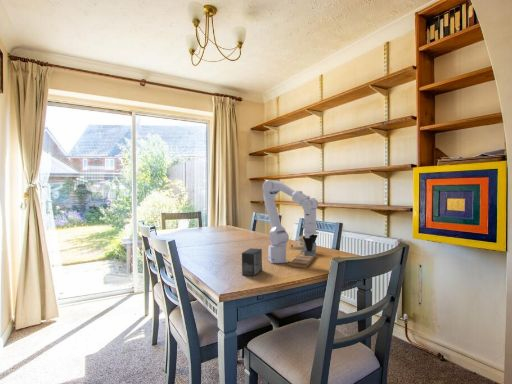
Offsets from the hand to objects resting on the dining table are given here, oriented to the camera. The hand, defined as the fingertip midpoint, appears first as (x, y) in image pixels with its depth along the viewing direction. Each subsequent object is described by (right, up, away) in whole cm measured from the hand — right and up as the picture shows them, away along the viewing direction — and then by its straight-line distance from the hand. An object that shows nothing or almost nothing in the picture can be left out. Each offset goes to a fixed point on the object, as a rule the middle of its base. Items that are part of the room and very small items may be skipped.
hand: (310, 250), depth 142 cm
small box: (-29, -9, -7) cm, 31 cm away
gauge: (-3, -3, +1) cm, 5 cm away
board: (-1, -8, +12) cm, 15 cm away
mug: (+4, -8, +33) cm, 34 cm away
